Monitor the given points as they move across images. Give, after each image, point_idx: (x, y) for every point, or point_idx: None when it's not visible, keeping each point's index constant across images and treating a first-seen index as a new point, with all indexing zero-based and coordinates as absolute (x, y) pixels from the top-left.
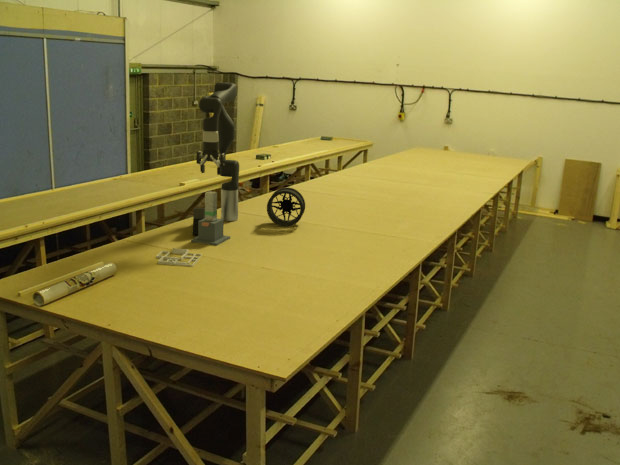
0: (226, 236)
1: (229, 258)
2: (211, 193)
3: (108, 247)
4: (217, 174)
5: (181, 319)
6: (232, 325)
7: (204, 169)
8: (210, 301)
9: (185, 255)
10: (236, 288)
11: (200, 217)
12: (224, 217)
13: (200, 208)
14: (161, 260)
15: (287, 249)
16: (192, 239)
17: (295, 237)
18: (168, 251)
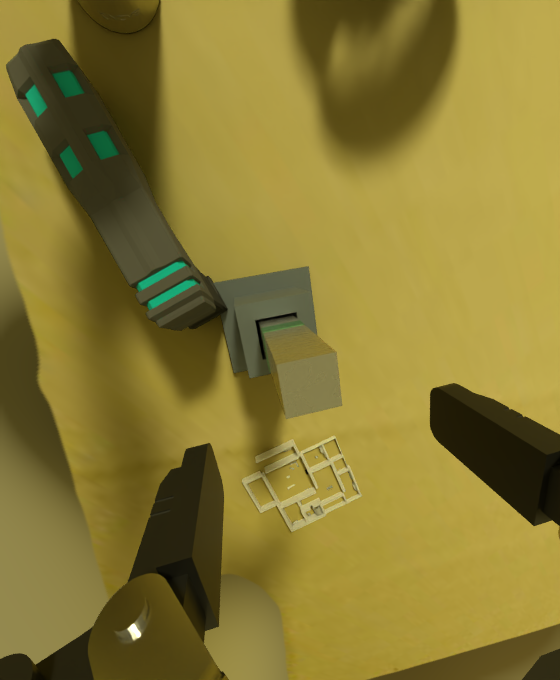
0: (299, 275)
1: (399, 409)
2: (330, 404)
3: (104, 537)
4: (437, 434)
5: (460, 614)
6: (520, 587)
7: (206, 480)
8: (467, 564)
9: (307, 464)
10: (480, 512)
11: (204, 316)
12: (113, 19)
13: (182, 304)
14: (287, 516)
15: (495, 256)
16: (236, 369)
17: (482, 110)
18: (259, 477)
